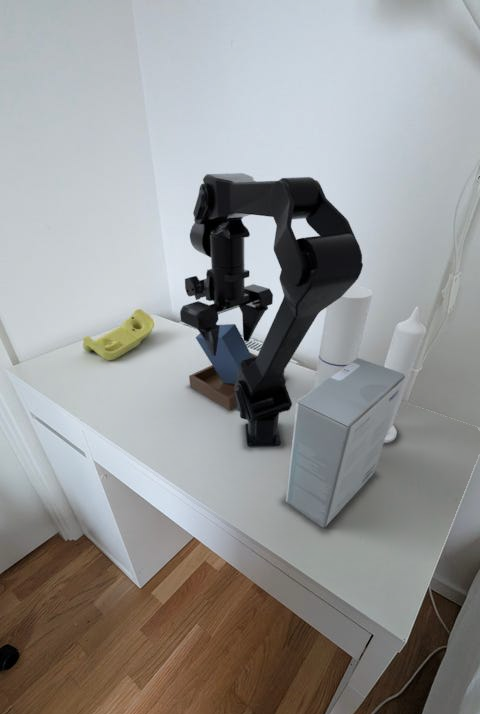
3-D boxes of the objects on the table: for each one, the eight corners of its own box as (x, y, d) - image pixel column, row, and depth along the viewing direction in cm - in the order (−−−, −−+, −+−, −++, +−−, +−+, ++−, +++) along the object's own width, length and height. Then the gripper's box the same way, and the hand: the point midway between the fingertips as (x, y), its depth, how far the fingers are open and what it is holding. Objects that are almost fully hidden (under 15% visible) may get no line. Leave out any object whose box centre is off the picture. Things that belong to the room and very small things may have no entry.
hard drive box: (335, 453, 63) (358, 356, 50) (373, 474, 58) (409, 374, 46) (283, 502, 54) (295, 399, 41) (324, 531, 50) (352, 426, 37)
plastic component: (109, 356, 88) (81, 332, 89) (108, 374, 94) (82, 352, 94) (161, 325, 100) (135, 304, 100) (157, 342, 106) (133, 323, 106)
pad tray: (244, 360, 91) (244, 349, 89) (283, 378, 83) (284, 367, 81) (190, 387, 81) (188, 375, 79) (229, 410, 73) (229, 398, 71)
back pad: (260, 373, 76) (235, 323, 68) (249, 386, 74) (221, 337, 67) (234, 370, 83) (208, 325, 75) (223, 382, 81) (195, 337, 73)
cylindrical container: (305, 403, 75) (321, 287, 59) (333, 397, 77) (357, 283, 61) (320, 422, 70) (343, 300, 54) (350, 415, 71) (381, 295, 56)
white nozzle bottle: (379, 417, 71) (418, 296, 55) (403, 438, 66) (454, 311, 50) (351, 425, 69) (383, 302, 53) (373, 447, 64) (417, 318, 48)
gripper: (234, 248, 68) (235, 324, 78) (155, 265, 58) (168, 350, 67) (276, 257, 62) (272, 338, 71) (197, 278, 51) (204, 369, 61)
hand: (230, 347), depth 68 cm, fingers open, 9 cm apart
